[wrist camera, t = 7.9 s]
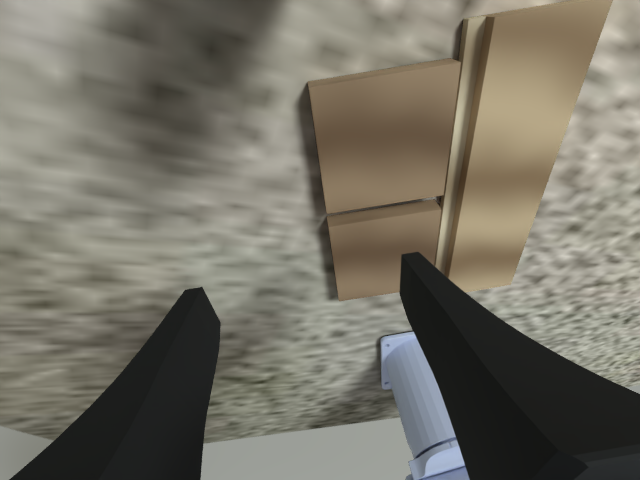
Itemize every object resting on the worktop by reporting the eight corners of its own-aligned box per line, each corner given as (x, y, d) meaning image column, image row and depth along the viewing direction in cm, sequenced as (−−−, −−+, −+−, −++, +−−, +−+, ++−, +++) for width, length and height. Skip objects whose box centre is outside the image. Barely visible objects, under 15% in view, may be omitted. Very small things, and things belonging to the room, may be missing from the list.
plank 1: (435, 185, 20) (443, 195, 19) (324, 203, 20) (327, 213, 19) (450, 58, 15) (461, 62, 14) (307, 81, 15) (309, 87, 14)
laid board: (502, 273, 26) (510, 284, 25) (429, 286, 26) (435, 297, 25) (591, -3, 14) (614, -4, 13) (463, 18, 14) (476, 20, 13)
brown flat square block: (425, 275, 24) (431, 287, 24) (337, 289, 25) (339, 301, 24) (434, 199, 20) (441, 209, 19) (326, 216, 20) (328, 227, 19)
